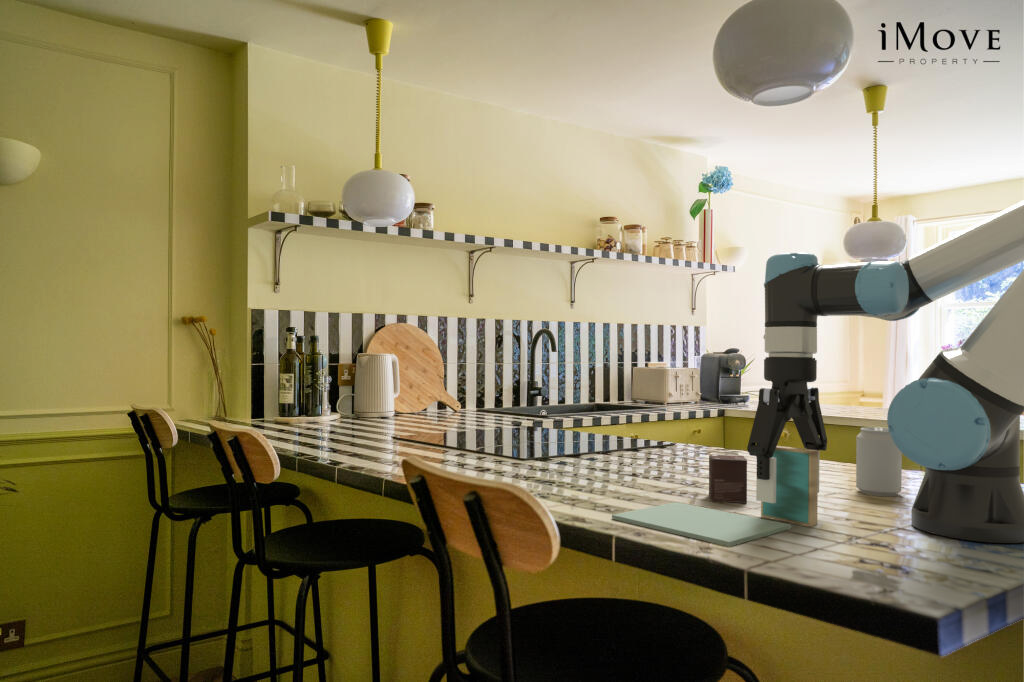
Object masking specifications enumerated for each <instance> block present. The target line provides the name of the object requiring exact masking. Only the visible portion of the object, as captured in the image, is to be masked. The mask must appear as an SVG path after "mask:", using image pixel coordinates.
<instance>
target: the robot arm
mask: <svg viewBox="0 0 1024 682" xmlns="http://www.w3.org/2000/svg"><path fill="white" fill-rule="evenodd" d="M1022 262H1024V200H1022V201H1020V202H1018V203H1017V204H1014V205H1012V206H1009V207H1008V208H1006V209H1003V210H1001V211H1000V212H997V213H996V214H994V215H992V216H990V217H988V218H985V219H983V220H982V221H980V222H978V223H976V224H973V225H972V226H970V227H968V228H966V229H964V230H962V231H960V232H958V233H956V234H954V235H952V236H949V237H948V238H946V239H943V240H942V241H939V242H938V243H936V244H934V245H931V246H929V247H927V248H925V249H924V250H921V251H920V252H917V253H916V254H913V255H912V256H909V258H906V259H904V260H902V261H894V260H889V261H884V260H881V261H879V260H870V261H868V262H855V263H853V262H852V263H843V264H831V265H820V263H819V262H818V257H817V256H816V254H814V253H810V252H808V253H807V252H794V253H793V252H792V253H791V252H786V253H785V252H783V253H778V254H773V255H772V256H770V257H768V259H767V260H766V264H765V276H764V283H763V286H764V287H763V288H764V327H765V328H764V334H763V339H764V353H766V354H768V356H766V357H765V358H764V359H763V378H764V380H765V381H768V382H771V383H772V384H771V388H768V387H767V388H765V387H764V388H763V387H760V388H759V391H758V405H757V408H756V411H755V415H754V419H753V423H752V428H751V431H750V435H749V438H748V442H747V447H746V449H747V452H748V454H749V456H754V457H756V485H755V487H756V489H755V490H756V491H755V492H756V494H755V495H756V498H755V499H756V500H755V501H758V502H761V501H762V502H768V503H776V458H773V457H772V456H773V454H774V451H775V449H776V446H778V443H779V441H780V438H781V436H782V434H783V431H784V428H785V426H786V423H787V422H789V421H790V420H792V421H793V423H794V425H795V428H796V430H797V433H798V436H799V438H800V440H801V442H802V445H803V449H810V450H818V494H819V493H820V461H821V460H820V455H821V454H820V451H827V450H828V449H827V447H828V445H827V444H828V437H827V433H826V428H825V423H824V419H823V415H822V414H823V413H822V409H821V405H820V395H819V393H820V391H819V388H818V387H814V386H808V383H814V382H816V380H817V374H818V373H817V371H818V370H817V368H818V367H817V363H818V360H817V359H816V358H815V357H814V356H813V355H815V354H817V353H818V317H829V316H834V317H836V316H837V317H838V316H839V317H840V316H844V317H845V316H850V317H851V316H858V317H859V316H860V317H865V318H866V317H867V318H874V319H875V318H876V319H881V320H883V321H889V322H897V321H900V320H904V319H907V318H910V317H913V316H914V315H915V314H916V313H917V312H918V311H919V309H921V308H922V307H924V306H927V305H929V304H931V303H934V302H935V301H937V300H938V299H941V298H943V297H945V296H948V295H951V294H952V293H955V292H957V291H960V290H961V289H963V288H966V287H968V286H970V285H973V284H975V283H978V282H979V281H982V280H984V279H986V278H989V277H990V276H993V275H995V274H997V273H1000V272H1002V271H1004V270H1007V269H1009V268H1010V267H1013V266H1015V265H1017V264H1020V263H1022ZM1023 413H1024V268H1023V270H1022V271H1021V272H1020V273H1019V274H1018V276H1017V277H1016V278H1015V279H1014V281H1013V282H1012V283H1011V284H1010V286H1009V287H1008V288H1007V289H1006V290H1005V292H1003V294H1002V296H1000V298H999V299H998V300H997V301H996V303H995V304H994V305H993V307H991V309H990V310H989V312H988V313H987V314H986V315H985V316H984V318H983V319H982V320H981V322H979V324H978V325H977V326H976V328H975V329H974V330H973V331H972V332H971V333H970V335H969V336H968V337H967V338H966V340H964V342H963V344H962V345H960V346H959V347H955V348H949V349H942V350H941V351H940V352H939V353H938V354H937V356H936V357H935V358H934V359H933V360H932V362H931V363H930V364H929V365H928V366H927V368H926V369H925V370H924V372H923V373H922V374H921V375H920V377H919V378H918V379H916V380H913V381H911V382H910V383H908V384H906V385H905V386H904V387H903V388H901V389H900V390H899V391H898V392H897V393H896V394H895V395H894V397H893V398H892V400H891V402H890V404H889V407H888V410H887V415H886V419H887V420H886V423H887V428H888V429H889V433H890V436H891V438H892V440H893V442H894V444H895V445H896V447H897V448H898V449H899V450H900V451H901V452H902V455H903V456H904V457H906V458H907V459H908V460H910V461H911V462H913V463H915V464H917V465H918V466H922V467H924V476H923V478H922V481H921V483H920V486H919V489H918V492H917V494H916V496H915V498H914V499H915V500H914V501H913V504H912V507H911V515H910V516H911V518H910V520H911V523H910V524H911V525H912V526H913V527H915V528H916V529H918V530H922V531H924V532H926V533H929V534H935V535H937V536H941V537H942V536H943V537H947V538H953V539H959V540H965V541H973V542H981V543H995V544H1021V543H1024V489H1023V487H1022V485H1021V481H1020V479H1021V478H1020V477H1021V476H1020V475H1021V474H1020V473H1021V472H1020V469H1021V467H1020V466H1021V465H1020V463H1021V461H1020V459H1021V458H1020V457H1021V456H1020V455H1021V452H1020V451H1021V448H1020V447H1021V440H1020V439H1021V435H1020V433H1021V415H1022V414H1023Z"/></svg>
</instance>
